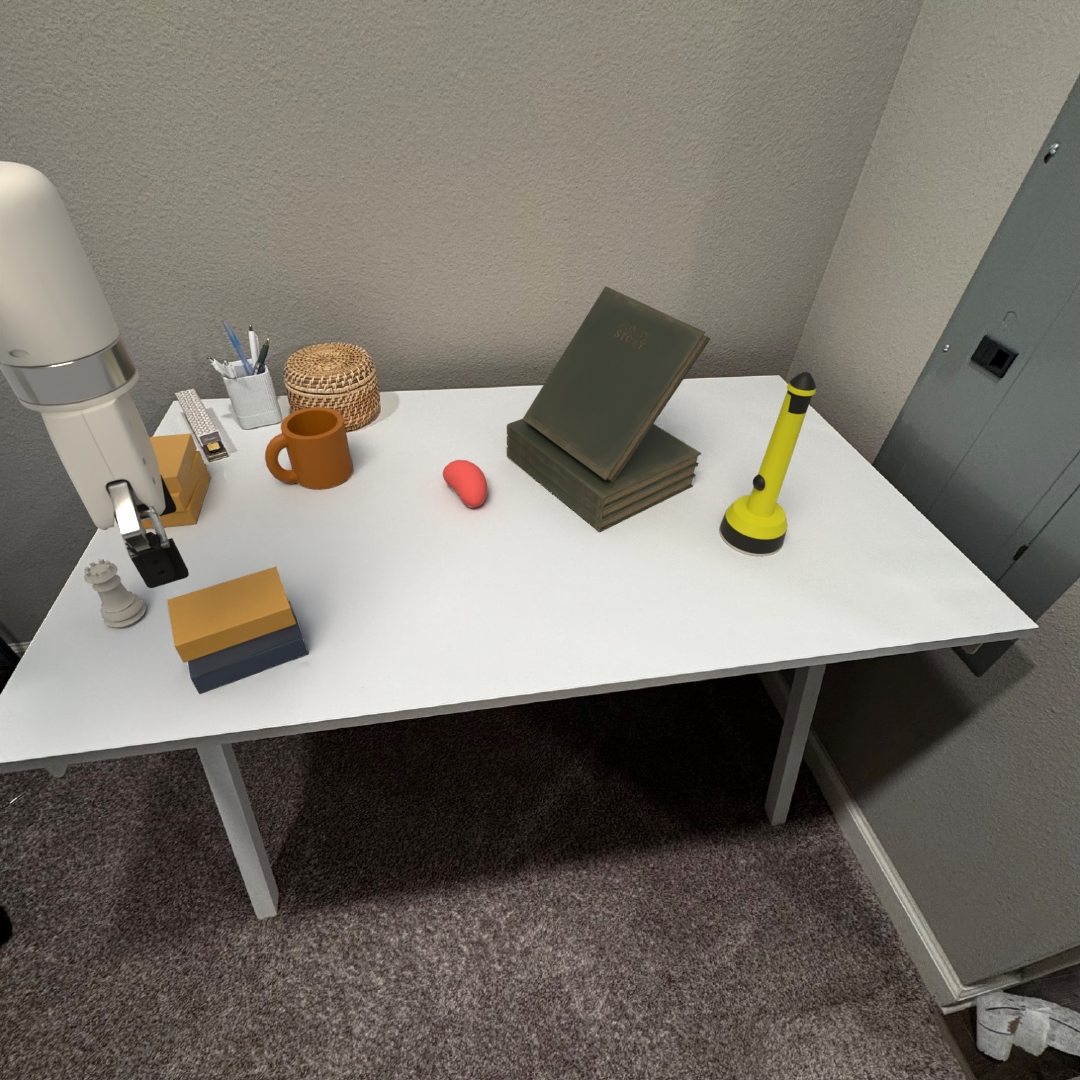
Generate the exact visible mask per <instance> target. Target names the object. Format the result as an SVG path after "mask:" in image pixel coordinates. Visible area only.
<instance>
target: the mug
mask: <svg viewBox="0 0 1080 1080" xmlns="http://www.w3.org/2000/svg"><path fill="white" fill-rule="evenodd" d="M280 431H281V433H278V434H277V435H275V436H274V437H273V438H271V440H269V442H268V444H267V445H266V449H265V452H264V461H265V464H266V467H267V469H268V471H269V473H270V474H271V475H272V476H273V477H274V478H275V479H277V480H278V481H280V482H282V483H285V484H291V485H293V484H298V485H300V486H301V487H303V488H305V489H306V488H307V489H310V490H327V489H332V488H335V487H337V486H340V485H342V484H343V483H345V482H347V481H348V479H350V478H351V477H352V475H353V473H354V466H353V459H352V455H351V450H350V445H349V440H348V435H347V430H346V424H345V420H344V416H343V415H342V414H341V412H339V411H337V410H336V409H333V408H329V407H322V406H313V407H305V408H302V409H298V410H296V411H293V412H292V413H289V414H287V416H285V417H284V418H283V420H282V421H281V423H280ZM284 449H286V452H287V456H288V461H289V463H290V468H291V469H286V468H283V467H282V465H281V464H280V462H279V455H280V453H281V452H282V451H283V450H284Z"/></svg>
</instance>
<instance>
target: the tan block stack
mask: <svg viewBox="0 0 1080 1080" xmlns="http://www.w3.org/2000/svg"><path fill="white" fill-rule="evenodd" d="M149 438H150V440H151V443H152V446H153V449H154V452H155V455H156V458H157V461H158V466H159V471H160V474H161V475H162V477H163V479H164V482H165V484H166V486H167V488H168V490H169V492H170V494H171V496H172V499H173V501H174V503H175V505H176V511H175V512H174V513H170V514H167V515H163V516H160V519H161V521H162V524H163V527H164V528H169V527H182V526H191V525H196V524H197V522H198V518H199V516H200V512H201V509H202V506H203V503H204V500H205V498H206V497H205V496H206V494H207V491H208V487H209V484H210V481H211V478H212V477H211V474H210V472H209V469H208V466H207V464H206V463H205V461H204V459H203V456H202V453H201V451H200V450H197V445H196V442H195V440H194V438H193V435H192V433H179V434H169V435H168V434H167V435H157V436H149ZM141 522H142V525H143V526H144V528H145V529H146V530H148V529H154V527H153V525H152V522H151V519H148V520H143V521H141Z"/></svg>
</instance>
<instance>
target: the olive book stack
mask: <svg viewBox="0 0 1080 1080" xmlns="http://www.w3.org/2000/svg"><path fill="white" fill-rule="evenodd" d="M705 334H706V332H705V331H704V330H702V329H700V328H698V327H696V326H693V325H691V324H689V323H687V322H685V321H682V320H681V319H678V318H676V317H674V316H672V315H669V314H667V313H665V312H663V311H661V310H659V309H656V308H654V307H652V306H650V305H648V304H646V303H643V302H641V301H639V300H637V299H635V298H634V297H633V298H632V297H630V296H628V295H627V294H624V293H622V292H620V291H617V290H615V289H613V288H611V287H609V286H606V285H605V286H604V288H603V289H602V291H601V292H600V294H599V296H598V297H597V299H596V300H595V302H594V304H593V305H592V307H590V310H589V311H588V313H587V315H586V316H585V318H584V320H583V321H582V323H581V325H580V326H579V327H578V329H577V330H576V333H575V334H574V336H573V337H572V339H571V340H570V342H569V343H568V345H567V347H566V348H565V350H564V351H563V353H562V355H561V357H560V358H559V359H558V361H557V362H556V365H555V366H554V367H553V369H552V371H551V372H550V374H549V375H548V377H547V379H546V380H545V382H544V383H543V385H542V387H541V388H540V390H539V391H538V393H537V395H536V396H535V398H534V400H533V402H532V403H531V404H530V406H529V407H528V409H527V411H526V412H525V414H524V416H523V417H522V418H520V419H517V420H515V421H512V422H509V423H507V425H506V457H507V458H508V459H509V460H511V461H512V462H513V463H514V464H516V465H517V466H518V467H519V468H521V469H522V470H523V471H524V472H525V473H526V474H528V475H529V476H530V477H531V478H533V479H534V480H535V481H536V482H537V483H539V484H541V486H543V487H544V488H545V489H546V490H547V491H549V492H550V493H551V494H552V495H554V496H555V497H556V498H557V499H558V500H560V501H561V502H563V504H564V505H566V506H567V507H568V508H570V509H571V510H572V511H573V512H575V513H576V514H577V515H579V517H581V518H582V520H584V521H585V522H587V523H588V524H589V525H590V526H591V527H593V528H594V529H595V530H597V531H598V532H599V533H601V532H604V531H605V530H608V529H610V528H611V527H613V526H616V525H618V524H620V523H622V522H623V521H625V520H628V519H630V518H632V517H634V516H636V515H638V514H640V513H642V512H644V511H646V510H648V509H650V508H653V507H654V506H656V505H658V504H660V503H663V502H665V501H667V500H668V499H670V498H673V497H674V496H676V495H678V494H680V493H683V492H685V491H687V490H689V489H691V488H693V487H694V485H693V484H692V483H693V479H695V478H696V476H697V474H696V473H695V470H696V468H697V467H699V462H698V458H699V456H701V455H702V453H701V452H700V451H698V450H697V449H695V448H694V447H692V446H690V445H689V444H687V443H685V442H684V441H682V440H680V439H679V438H678V437H676V436H675V435H672V434H671V433H670V432H668V431H666V430H664V429H663V428H661V427H660V426H658V425H656V424H655V423H656V421H657V419H658V418H659V416H660V415H661V413H662V412H663V410H664V409H665V408H666V406H667V404H668V403H669V401H670V400H671V398H672V397H673V396H674V394H675V393H676V391H677V390H678V388H679V387H680V385H681V384H682V383H683V380H684V379H685V378H686V376H687V375H688V374H689V372H690V370H691V369H692V368H693V366H694V364H695V363H696V362H697V360H698V358H700V356H701V354H702V353H703V351H704V350H705V348H706V346H707V345H708V344H709V342H710V341H711V337H709V336H707V335H705Z"/></svg>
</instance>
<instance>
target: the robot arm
mask: <svg viewBox="0 0 1080 1080" xmlns="http://www.w3.org/2000/svg"><path fill="white" fill-rule="evenodd" d="M0 371H1V373H2V375H3V377H5V379H6V381H7V383H8V384H9V386H10V388H11V389H12V391H13V392H14V395H15V397H16V398H17V400H18V401H19V403H20V404H21V405H22V406H23V407H24V408H26V409H28V410H31V411H35V412H39V413H40V415H41V418H42V420H43V421H42V422H43V423H44V425H45V429H46V430H47V433H48V436H49V438H50V440H51V442H52V444H53V446H54V449H55V450H56V453H57V455H58V457H59V460H60V461H61V463H62V465H63V468H64V469H65V471H66V473H67V475H68V476H69V479H70V481H71V483H72V484H73V486H74V488H75V490H76V492H77V494H78V496H79V497H80V499H81V502H82V504H83V505H84V507H85V508H86V511H87V512H88V514H89V516H90V518H91V520H92V522H93V524H94V526H95V527H96V528H98V529H99V530H101V531H107V530H109V529H112V528H115V524H117V527H118V530H119V533H120V535H121V538H122V541H123V544H124V546H125V549H126V552H127V555H128V557H129V558H130V560H131V562H132V563H133V565H134V567H135V569H136V570H137V572H138V574H139V575H140V577H141V579H142V581H143V582H144V584H145V586H146V587H147V588H149V589H154V588H157V587H161V586H165V585H167V584H172V583H175V582H178V581H180V580H184V579H187V578H188V577H189V576H190V573H189V569H188V566H187V565H186V562H185V560H184V558H183V556H182V555H181V552H180V551H179V549H178V546H177V544H176V543H175V541H174V539H173V537H170V538H168V535H167V533H166V529H165V527H163V524H162V521H161V519H160V516H163V515H167V514H170V513H174V512H175V511H176V505H175V503H174V501H173V499H172V496H171V494H170V492H169V490H168V488H167V486H166V484H165V482H164V479H163V477H162V475H161V474H160V471H159V466H158V461H157V458H156V455H155V452H154V449H153V446H152V443H151V440H150V438H149V437H150V436H149V433H148V430H147V428H146V426H145V424H144V422H143V419H142V417H141V414H140V413H139V410H138V408H137V406H136V404H135V401H134V400H133V398H132V396H131V393H130V390H132V389H133V388H134V387H135V386H136V384H137V383H138V381H139V378H140V374H139V371H138V369H137V366H136V365H135V362H134V359H133V358H132V355H131V353H130V351H129V348H128V346H127V344H126V342H125V339H124V337H123V335H122V333H121V331H120V328H119V326H118V324H117V321H116V319H115V318H114V315H113V313H112V310H111V308H110V306H109V303H108V301H107V298H106V297H105V294H104V292H103V290H102V287H101V285H100V283H99V281H98V279H97V276H96V274H95V272H94V268H93V267H92V265H91V262H90V260H89V258H88V256H87V254H86V252H85V249H84V247H83V244H82V242H81V240H80V238H79V235H78V234H77V231H76V229H75V226H74V224H73V222H72V219H71V217H70V215H69V213H68V211H67V208H66V206H65V204H64V201H63V200H62V198H61V196H60V193H59V192H58V190H57V188H56V186H55V185H54V183H53V182H51V180H50V179H49V178H48V177H47V176H46V175H45V174H43V172H41V171H40V170H38V169H37V168H34V167H32V166H31V165H27V164H25V163H24V164H23V163H18V162H14V161H4V160H0ZM148 519H151V522H152V525H153V527H154V528H153V530H154V532H152V531H148V532H147V529H145V528H144V526H143V525H142V522H141V521H143V520H148ZM115 522H116V523H115Z"/></svg>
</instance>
